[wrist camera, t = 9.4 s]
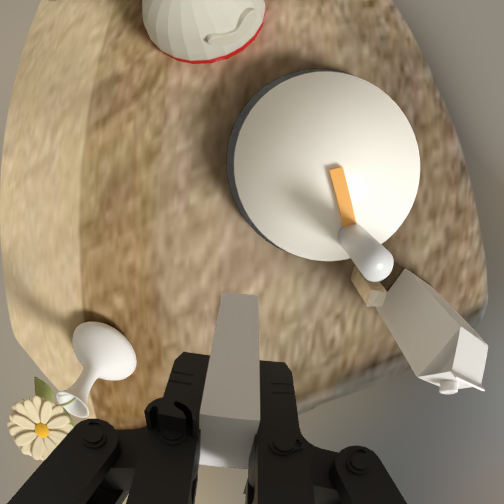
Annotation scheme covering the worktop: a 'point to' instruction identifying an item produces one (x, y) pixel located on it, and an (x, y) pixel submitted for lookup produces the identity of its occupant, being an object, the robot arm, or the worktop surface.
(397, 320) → the milk carton
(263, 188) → the dial
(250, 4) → the kitchen timer
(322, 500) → the robot arm
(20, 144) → the worktop surface
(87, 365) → the flower in vase
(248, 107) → the dial base
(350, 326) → the worktop surface
